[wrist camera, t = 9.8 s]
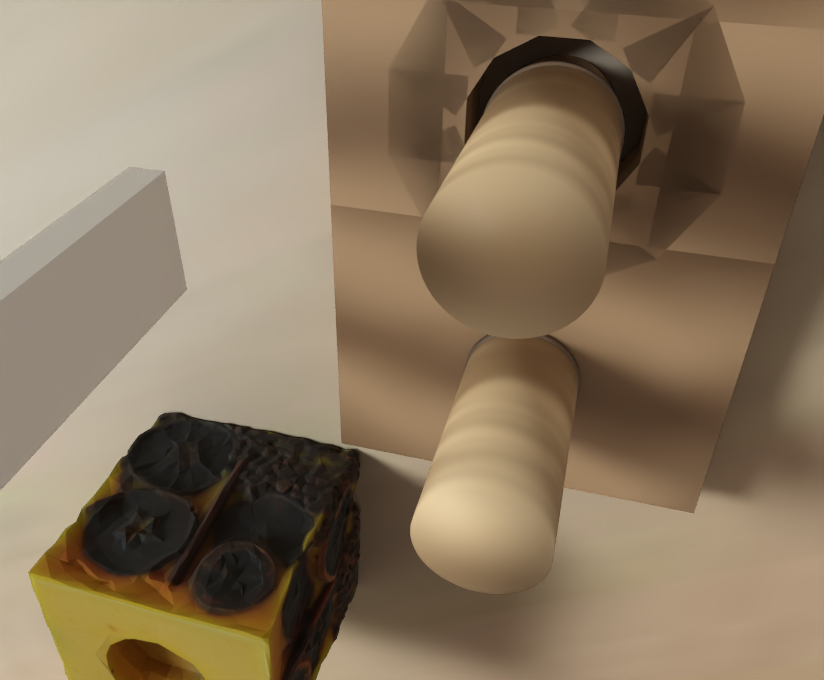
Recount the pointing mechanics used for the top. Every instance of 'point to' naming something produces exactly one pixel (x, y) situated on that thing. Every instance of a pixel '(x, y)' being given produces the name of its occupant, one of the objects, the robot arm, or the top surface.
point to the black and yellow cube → (206, 558)
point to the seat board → (625, 270)
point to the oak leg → (528, 204)
